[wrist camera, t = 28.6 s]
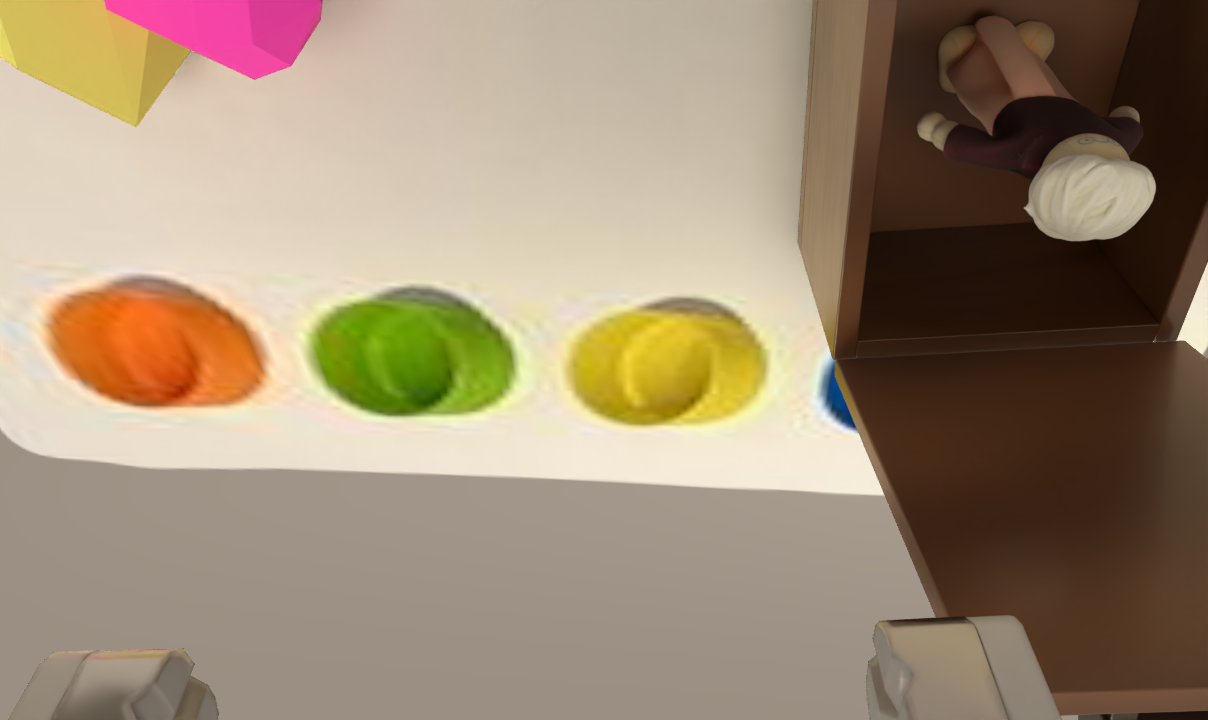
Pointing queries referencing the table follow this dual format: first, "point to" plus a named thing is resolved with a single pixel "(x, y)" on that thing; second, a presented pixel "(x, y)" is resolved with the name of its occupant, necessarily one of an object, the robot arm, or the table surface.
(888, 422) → the chest lid
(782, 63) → the table surface
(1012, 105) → the grandmother figurine
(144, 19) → the toy
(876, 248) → the chest
